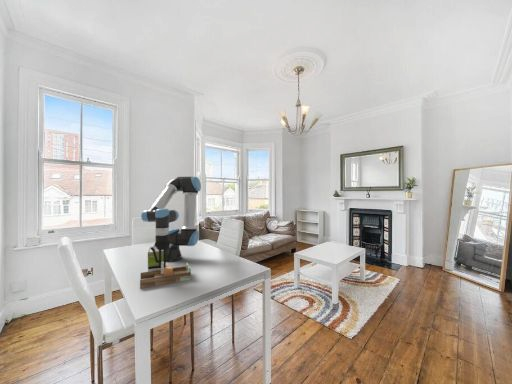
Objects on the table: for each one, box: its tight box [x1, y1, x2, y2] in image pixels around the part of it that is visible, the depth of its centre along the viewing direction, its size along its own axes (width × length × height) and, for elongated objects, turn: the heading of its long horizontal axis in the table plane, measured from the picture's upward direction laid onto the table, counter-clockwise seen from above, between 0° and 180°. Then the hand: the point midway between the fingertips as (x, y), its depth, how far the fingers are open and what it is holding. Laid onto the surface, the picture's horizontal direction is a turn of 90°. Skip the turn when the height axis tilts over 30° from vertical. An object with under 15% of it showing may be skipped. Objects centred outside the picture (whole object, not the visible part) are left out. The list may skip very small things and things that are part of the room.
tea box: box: [147, 246, 164, 272], centre depth 147 cm, size 15×10×15 cm, turn 21°
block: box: [164, 265, 174, 276], centre depth 133 cm, size 5×5×4 cm
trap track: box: [139, 262, 192, 289], centre depth 131 cm, size 12×27×6 cm, turn 116°
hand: (162, 273), depth 132 cm, fingers closed
